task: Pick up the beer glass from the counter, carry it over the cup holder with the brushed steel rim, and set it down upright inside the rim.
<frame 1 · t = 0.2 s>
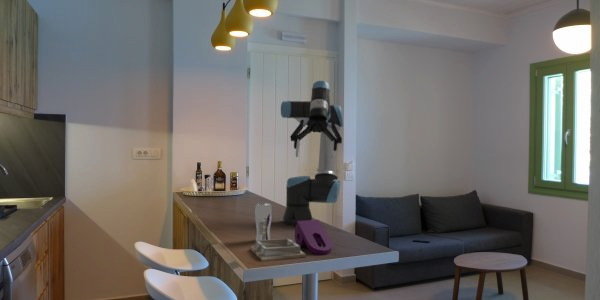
hand: (314, 156, 156), 35 cm above the breakfast bar, tool tilted 35°, fingers open, 13 cm apart
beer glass: (263, 241, 166), on the breakfast bar
cup holder: (277, 252, 148), on the breakfast bar
mounting bracket: (314, 249, 156), on the breakfast bar
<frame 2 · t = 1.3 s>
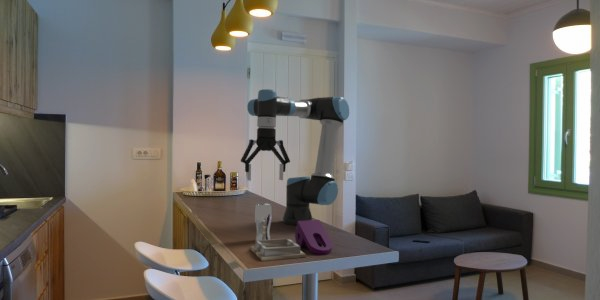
hand: (265, 180, 165), 25 cm above the breakfast bar, tool pointing down, fingers open, 13 cm apart
nothing on the breakfast bar moved.
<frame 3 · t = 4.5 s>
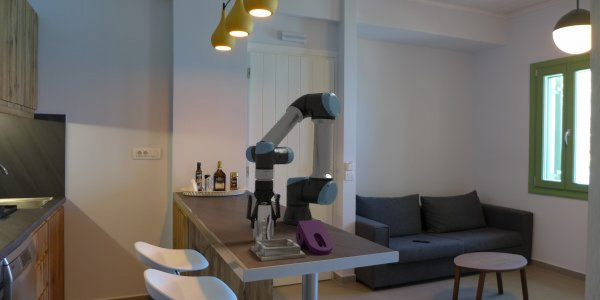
hand: (263, 235, 166), 2 cm above the breakfast bar, tool pointing down, fingers closed on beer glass, 6 cm apart
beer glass: (263, 241, 166), on the breakfast bar, touching gripper
everything else where it was.
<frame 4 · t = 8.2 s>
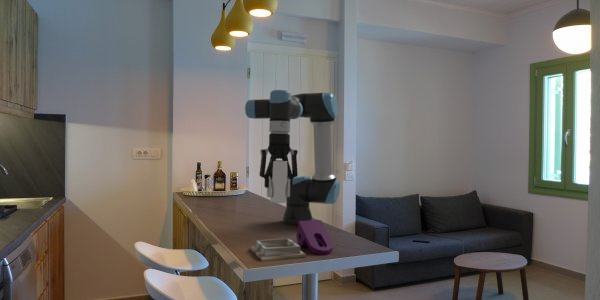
hand: (278, 196, 148), 21 cm above the breakfast bar, tool pointing down, fingers closed on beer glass, 6 cm apart
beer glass: (278, 202, 148), point 18 cm above the breakfast bar, touching gripper
everything else where it was.
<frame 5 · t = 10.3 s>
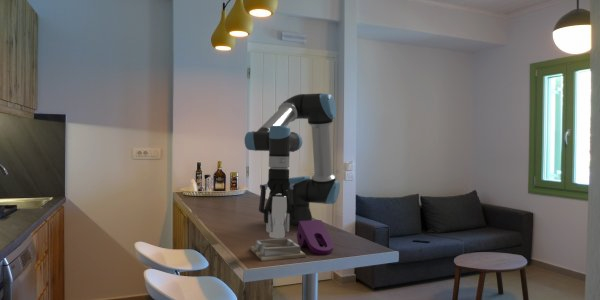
hand: (277, 231, 148), 8 cm above the breakfast bar, tool pointing down, fingers closed on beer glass, 6 cm apart
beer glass: (277, 237, 148), point 6 cm above the breakfast bar, touching gripper
everything else where it was.
when the fingers open (4 cm above the breakfast bar, at t = 11.9 s): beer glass drops 1 cm, resting on cup holder.
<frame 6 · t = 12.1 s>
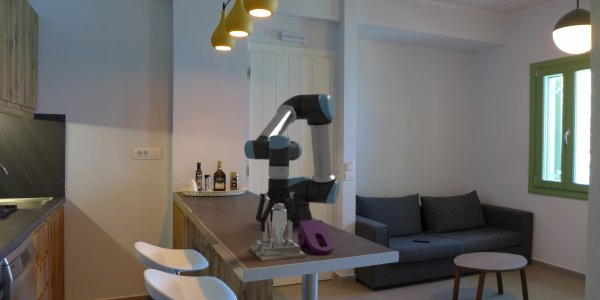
hand: (277, 239, 148), 5 cm above the breakfast bar, tool pointing down, fingers open, 9 cm apart
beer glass: (277, 250, 148), point 1 cm above the breakfast bar, touching cup holder
everything else where it was.
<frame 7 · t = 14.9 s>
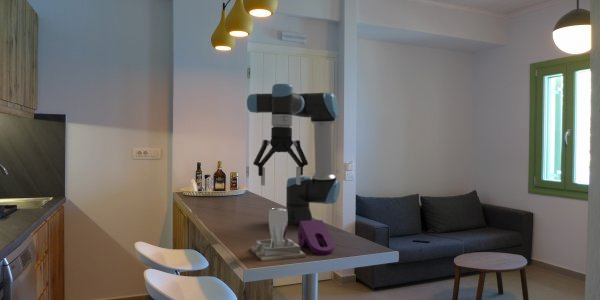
hand: (280, 184, 149), 25 cm above the breakfast bar, tool pointing down, fingers open, 13 cm apart
nothing on the breakfast bar moved.
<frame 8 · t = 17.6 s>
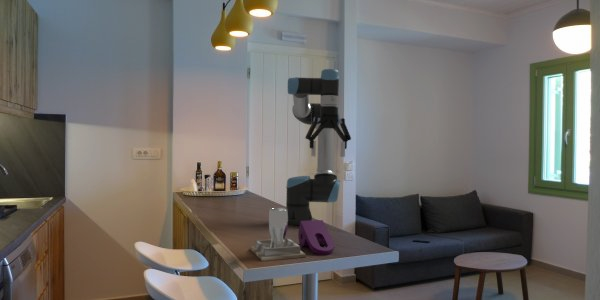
hand: (328, 156, 172), 35 cm above the breakfast bar, tool pointing down, fingers open, 13 cm apart
at the end: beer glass 0.2 cm off-centre on the cup holder, point 0.8 cm above the cup holder's base; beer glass tilted 0°; the gripper is holding nothing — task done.
